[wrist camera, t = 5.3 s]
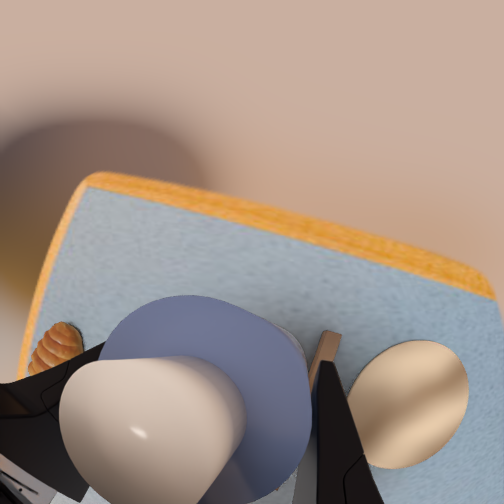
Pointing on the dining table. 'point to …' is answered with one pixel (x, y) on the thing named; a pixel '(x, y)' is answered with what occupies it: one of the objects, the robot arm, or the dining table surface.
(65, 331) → the pastry
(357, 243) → the dining table surface
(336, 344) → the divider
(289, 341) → the soy bottle
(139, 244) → the dining table surface
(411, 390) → the disc
